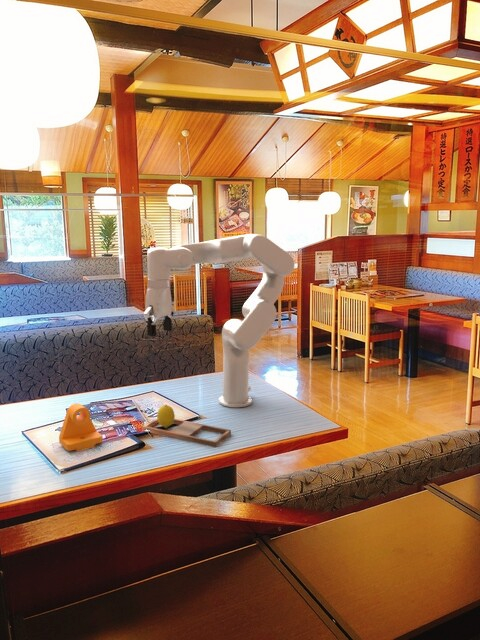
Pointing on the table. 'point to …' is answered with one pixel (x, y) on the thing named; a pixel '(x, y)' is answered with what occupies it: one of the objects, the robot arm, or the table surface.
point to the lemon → (165, 416)
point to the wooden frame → (189, 432)
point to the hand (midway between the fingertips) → (159, 333)
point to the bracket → (78, 430)
